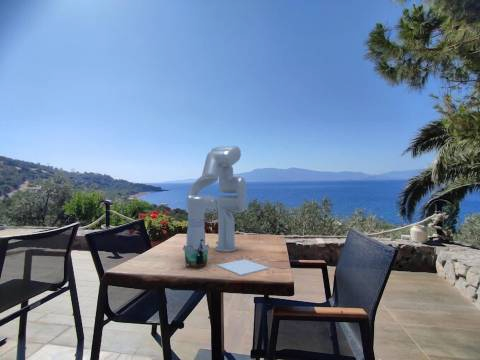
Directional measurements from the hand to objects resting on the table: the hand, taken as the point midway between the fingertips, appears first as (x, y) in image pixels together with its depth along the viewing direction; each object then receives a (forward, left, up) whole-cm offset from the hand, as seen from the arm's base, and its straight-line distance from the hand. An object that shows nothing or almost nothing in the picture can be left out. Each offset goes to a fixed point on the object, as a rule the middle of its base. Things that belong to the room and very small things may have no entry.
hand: (196, 262), depth 129 cm
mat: (+14, +16, -2) cm, 21 cm away
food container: (+1, 0, -2) cm, 2 cm away
